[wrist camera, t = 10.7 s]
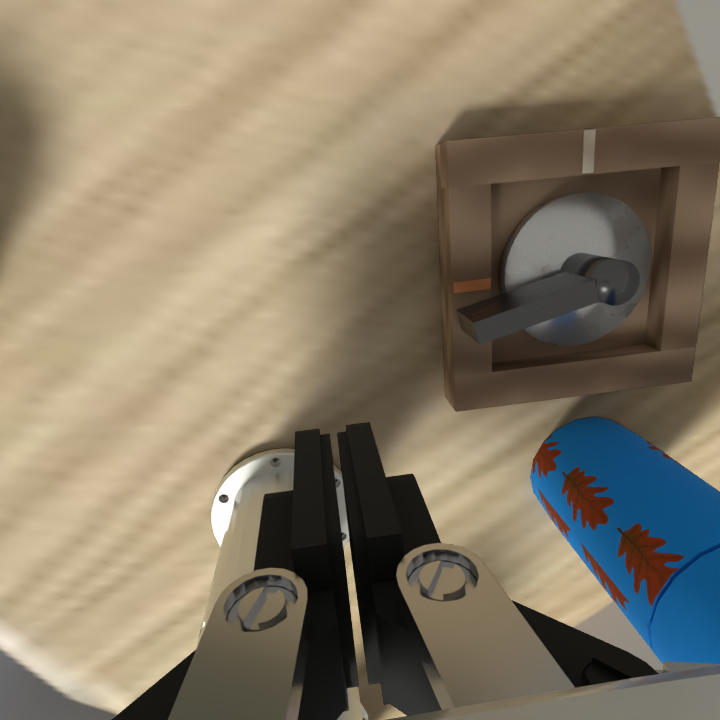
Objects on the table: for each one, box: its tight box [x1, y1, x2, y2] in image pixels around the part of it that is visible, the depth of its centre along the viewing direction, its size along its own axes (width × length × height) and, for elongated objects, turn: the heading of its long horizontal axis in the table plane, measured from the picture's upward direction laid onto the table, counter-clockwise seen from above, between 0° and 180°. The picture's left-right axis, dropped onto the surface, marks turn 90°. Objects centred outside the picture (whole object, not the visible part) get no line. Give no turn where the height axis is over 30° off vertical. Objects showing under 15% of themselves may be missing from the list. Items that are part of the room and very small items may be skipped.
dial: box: [456, 192, 651, 346], centre depth 36 cm, size 16×12×6 cm
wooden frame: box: [435, 117, 720, 412], centre depth 39 cm, size 20×20×3 cm
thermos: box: [530, 417, 720, 664], centre depth 35 cm, size 11×11×25 cm
